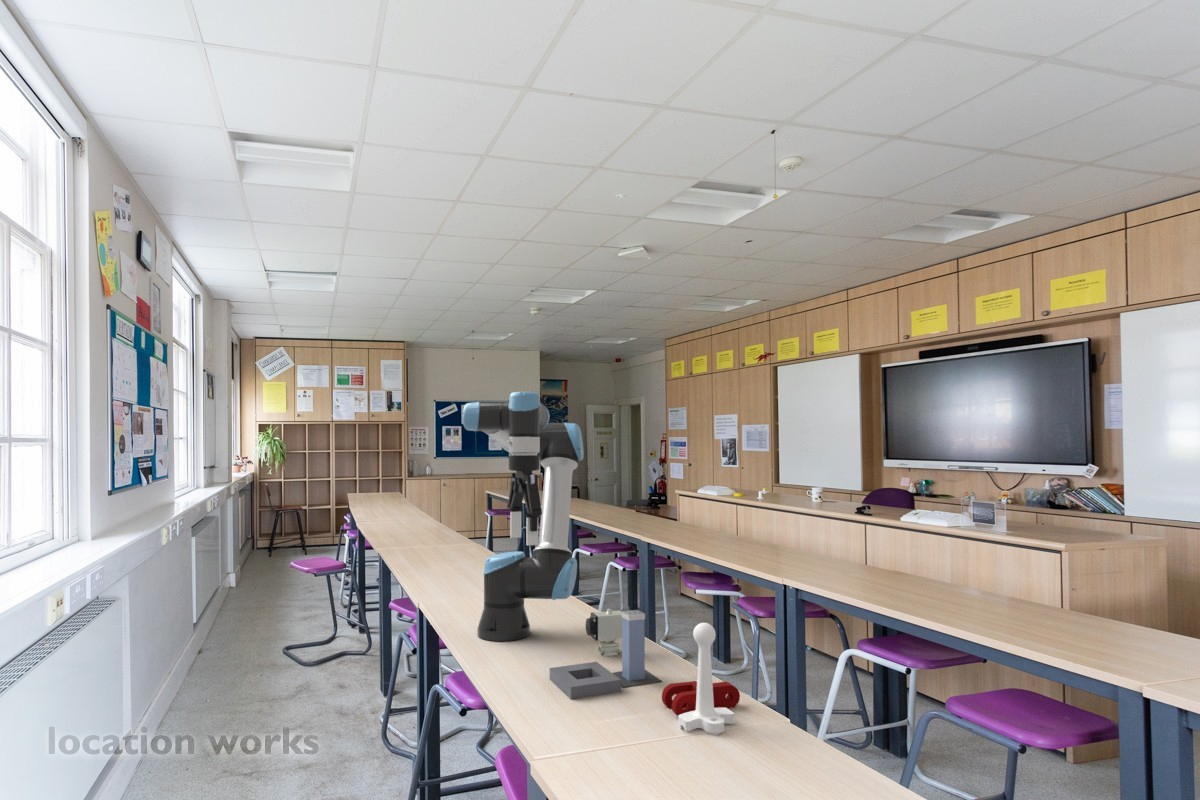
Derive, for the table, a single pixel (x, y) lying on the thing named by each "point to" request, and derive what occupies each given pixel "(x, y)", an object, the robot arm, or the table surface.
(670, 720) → the table surface
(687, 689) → the mechanical linkage
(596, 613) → the pneumatic valve
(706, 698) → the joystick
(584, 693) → the socket
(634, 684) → the mat
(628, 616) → the plug
